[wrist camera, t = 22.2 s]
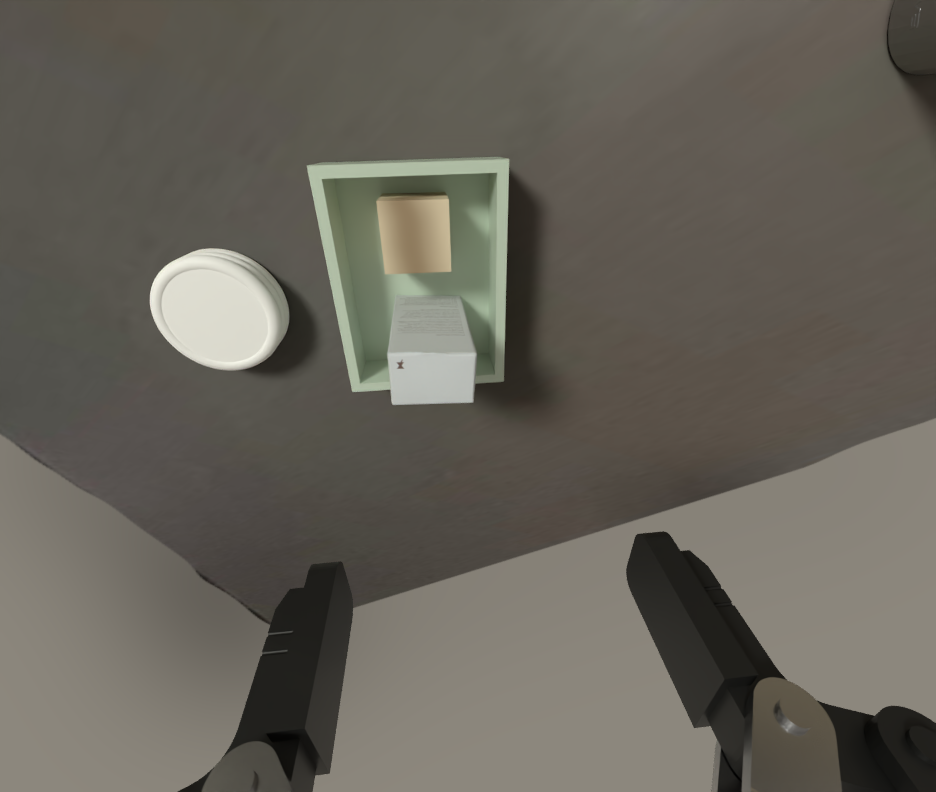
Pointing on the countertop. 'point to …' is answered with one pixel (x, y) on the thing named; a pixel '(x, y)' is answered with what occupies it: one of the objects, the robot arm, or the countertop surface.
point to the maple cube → (415, 232)
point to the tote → (373, 292)
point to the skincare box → (431, 351)
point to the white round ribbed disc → (220, 309)
